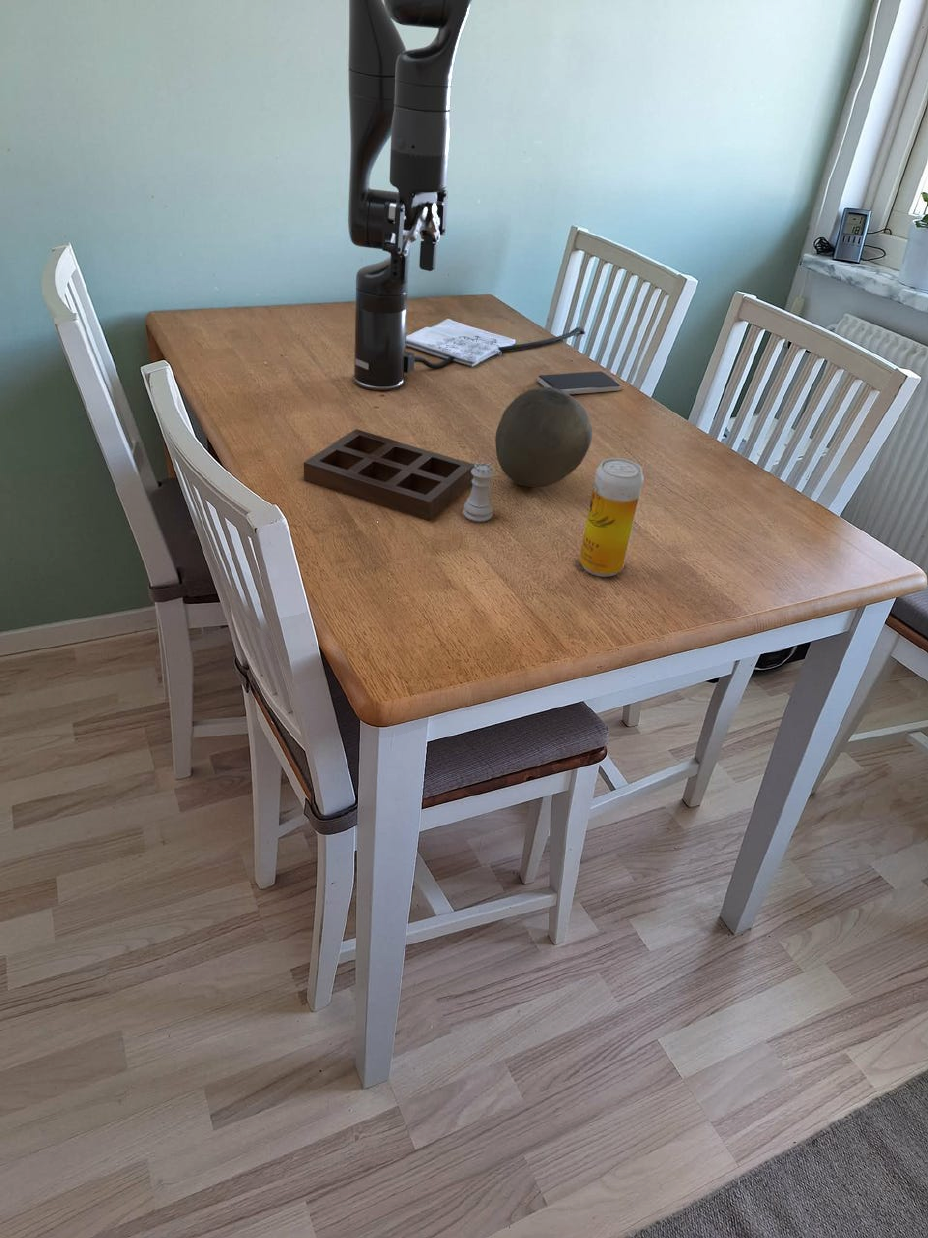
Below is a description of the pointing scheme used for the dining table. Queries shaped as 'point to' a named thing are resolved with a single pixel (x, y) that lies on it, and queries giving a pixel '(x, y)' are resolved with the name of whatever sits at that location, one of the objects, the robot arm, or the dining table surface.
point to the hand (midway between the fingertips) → (413, 275)
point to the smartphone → (580, 382)
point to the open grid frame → (389, 473)
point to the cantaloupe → (542, 437)
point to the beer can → (611, 516)
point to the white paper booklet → (458, 342)
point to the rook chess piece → (479, 495)
